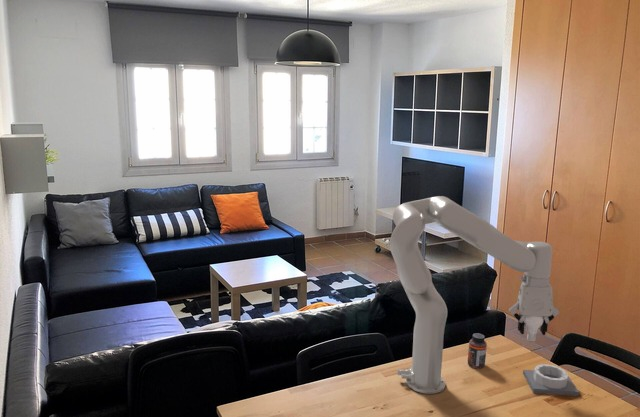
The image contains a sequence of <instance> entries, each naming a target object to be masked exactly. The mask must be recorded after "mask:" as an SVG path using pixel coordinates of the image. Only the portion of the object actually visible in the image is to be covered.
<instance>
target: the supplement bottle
mask: <svg viewBox="0 0 640 417" xmlns="http://www.w3.org/2000/svg"><path fill="white" fill-rule="evenodd" d="M487 344H488V343H487V342H486V340H485V335H484V334H482V333H479V332H478V333H476V332H475V333H473V334H472V337H471V339H470V340H469V342H468V353H467V365H468V366H469V367H471V368H474V369H482V368H484V367H485V366H486V357H487V346H488V345H487Z"/></svg>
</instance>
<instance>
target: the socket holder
mask: <svg viewBox="0 0 640 417" xmlns="http://www.w3.org/2000/svg"><path fill="white" fill-rule="evenodd" d="M522 374H523V377H524V378H525V381H526V382H527V384H528V385H529V388H530V390H531V392H532V393H533V394H545V395H557V396H558V395H559V396H571V397H572V396H573V397H575V396H576V397H579V395H580V391H579V389H578V388H577V387H576V385H575V384H574V382H573V381H572V379H571V378H570V376H569V373H568V372H567V371H566V370H564V369H563V368H562V367H559V366H556V365H553V364H547V363H546V364H544V363H542V364H538V365H536V366H535V367H534V369H522Z"/></svg>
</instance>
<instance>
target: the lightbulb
mask: <svg viewBox="0 0 640 417" xmlns="http://www.w3.org/2000/svg"><path fill="white" fill-rule="evenodd" d="M543 321H544V319H543V317H537V316H526V317H525V319H524V323H525V326H524V327H525V329H526V333H527V335H526V340H527V341H529V342H530V343H533V342H536V340H537V338H536V337H537V334H538V331H539V330H540V327H541V326H542V324H543Z"/></svg>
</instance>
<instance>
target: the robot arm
mask: <svg viewBox="0 0 640 417" xmlns="http://www.w3.org/2000/svg"><path fill="white" fill-rule="evenodd" d="M392 220H393V224H394V225H395V227H394V229H393V231H392V233H391V236H390V240H389V249H390V253H391V256H392V258H393V260H394V264H395V266H396V274H397V276H398V278H399V282H400V283H401V285H402V287H403V289H404V291H405V293H406V294H405V295H406V296H407V298H408V300H409V302H410V305H411V306H412V308H413V310H414V312H415V321H414V326H413V337H412V340H413V342H412V354H411V355H412V356H411V357H412V358H411V359H412V360H411V365H410V366H409V368H406V369H402V368H401V369H400V368H398V369H397V370H396V371H397V373H396V374H397V376H400V377H401V379H404V380H405V379H406V380H405V382H406V385H407V386H408V387H409V388H410V389H411V390H413V391H414V392H417V393H421V394H424V395H426V394H427V395H433V394H434V395H435V394H438V393H440V392H443V390H445V388H446V380H445V379H444V377H442V369H443V368H442V366H443V352H444V351H443V350H444V334H445V327H446V322H447V318H448V308H447V304H446V302H445V300H444V299H443V297H442V296H441V294H440V293H439V292H438V291H437V289H436V287H435V285H434V283H433V279H432V278H433V277H432V274H431V271H430V269H429V267H428V265H427V263H426V261H425V260H424V257H423V255H422V253H421V252H422V251H421V250H420V248H419V239H420V237H422V233H423V232H424V230H425V228H426V225H428V224H432V223H436V224H437V225H438V226H439V227H441V228H443V229H444V230H446V231H447V232H449V233H451V234H452V235H453V234H454V235H455V236H457V237H458V238H459V239H462V240H464V241H465V242H467V243H468V244H469V245H471V246H474V247H475V248H477V249H478V250H480V251H481V252H484V253H486V254H487V255H488V256H491V257H492V258H495V259H496V260H497V261H499V262H500V263H502V264H504V265H505V266H507V267H509V268H511V269H512V270H514V271H515V272H518V273H523V275H521V276H519V281H521V284H520V287H519V289H518V290H519V291H518V296H517V300H516V302H515V303H514V304H513V305H512V306H511V307H509V309H508V311H509V312H510V314H511V315H512V316H514V318H515V319H516V320H517V331H519V333H520V335H524V333H525V327H526V326H525V323H524V319H525V317H526V316H537V317H543V319H544V321H543V324H542V326H541V327H540V328H539V332H540V333H541V334H542V335H543V336H546V332H548V325H549V324H550V322H551V321H552V320H553V319H555V317H557V316H558V315H560V311H559V309H557V307H555V306H554V296H553V285H552V284H550V277H551V270H552V269H551V268H552V257H553V247H552V245H551V244H550V243H548V242H544V241H539V240H538V241H534V240H533V241H521V240H514V239H513V238H511V237H509V236H508V235H506V234H505V233H503V232H502V231H501V230H499V229H497V228H496V227H495V226H494V225H492V224H491V223H489V222H488V221H486V220H485V219H483V218H482V217H481V216H480V217H479V216H478V215H477V214H475V213H473V212H472V211H470V210H468V209H466V208H465V207H463V206H462V205H460V204H458V203H456V202H455V201H454V200H451V199H450V198H449V197H447V196H445V195H444V196H443V195H441V196H440V195H437V196H431V197H427V198H423V199H418V200H412V201H407V202H403V203H402V204H399V205H398V206H397V207H395V209H394V211H393V213H392ZM516 311H518V312H516Z"/></svg>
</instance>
